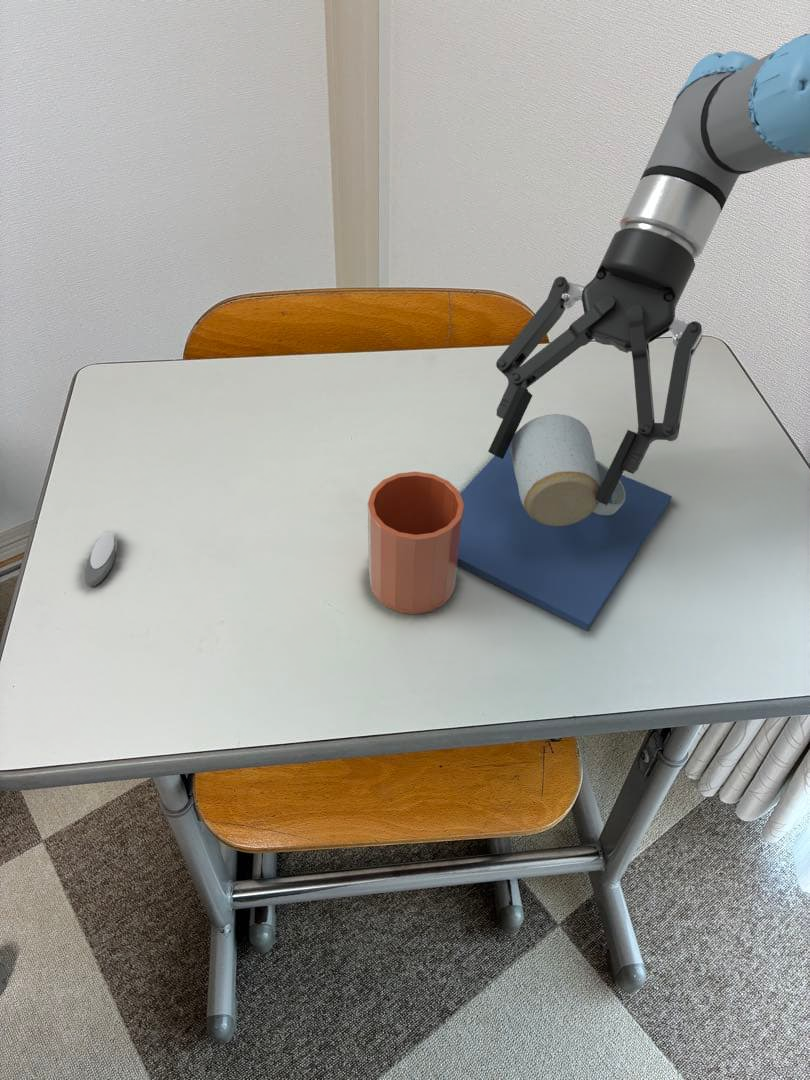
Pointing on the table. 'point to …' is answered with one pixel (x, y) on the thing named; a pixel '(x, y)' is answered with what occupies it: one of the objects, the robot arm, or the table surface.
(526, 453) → the ceramic mug
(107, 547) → the oval pebble
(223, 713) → the table surface
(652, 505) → the blue mat
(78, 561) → the table surface
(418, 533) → the clay cup
